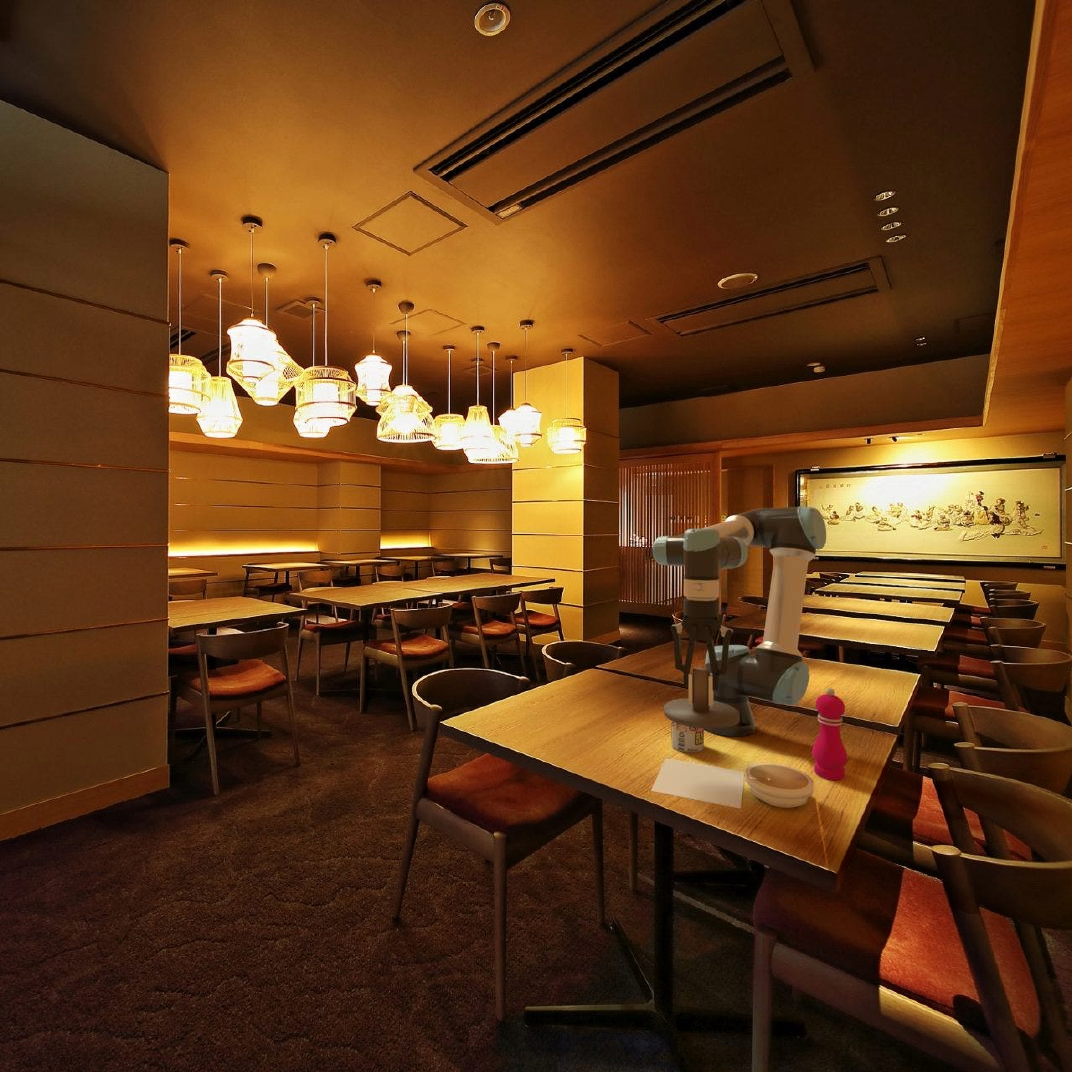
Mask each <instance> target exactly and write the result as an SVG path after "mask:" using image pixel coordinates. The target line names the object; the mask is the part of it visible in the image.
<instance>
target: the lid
mask: <svg viewBox="0 0 1072 1072" xmlns="http://www.w3.org/2000/svg"><path fill="white" fill-rule="evenodd" d="M692 672H693V703H692V704H689V697H688V698H687V697H686V698H678V699H672V700H673V701H672V700H669V701H667V702H666V703H665V704H664V706H663V714H664V717H666V718H667V719H668V720H669V721H673V722H676V723H678V724H681V725H685V726H689V727H695V728H703V729H704V730H705V729H721V728H728V727H731V726H734V725H736V724H737V723H738V722H739V712H738V711H737V710H736V709H735V708H734V707H732V706H730V705H727V704H724V703H721V702H717V701H713V706H709V675H710V670H709V669H706V667H694V668H692Z"/></svg>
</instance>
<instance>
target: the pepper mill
mask: <svg viewBox="0 0 1072 1072" xmlns="http://www.w3.org/2000/svg"><path fill="white" fill-rule="evenodd" d="M835 693H836V692H835V689H833V688H831V687H828V688H827V689H826V690H825V693H824V694H822V695H819V696H818V697H817V698H816V700H815V709H816V711H817V712H818V715H817V721H818V723H819V732H818V736H817V738H816V739H815V740H814V743H813V745H812V748H811V749H812V750H811V751H812V752H811V756H812V758H813V760H814V761H815V763H814V765H813V772H814V774H815V775H817V776H819V777H820V778H822V779H826V780H829V781H830V780H831V781H841V780H844V779H845V778H846V777H845V776H846V770H845V767H844V766H846V764H847V763H848V754H847V750H846V748H845V745H844V743H843V740H842V736H841V726H842V725H843V717H842V716H843V715H844V714H845V711H846V706H845V703H844V701H843V699H842V698H840V697H839V696H837V695H835Z"/></svg>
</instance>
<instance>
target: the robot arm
mask: <svg viewBox="0 0 1072 1072" xmlns="http://www.w3.org/2000/svg"><path fill="white" fill-rule="evenodd" d="M826 541H827V529H826V523H825V519H824V517H823V514H822V513H821V511H820V509H819V510H818V508H816V507H813V506H801V505H800V506H790V507H789V506H788V507H787V506H786V507H784V506H783V507H782V506H781V507H761V508H756V509H755V508H754V509H751V510H747V511H744V512H740V513H737V514H735V515H734V514H733V515H731V516H729V517H728V518H726V519H725V521H723V522H719V523H716V524H712V525H709V526H706V527H702V528H688V529H687V530H685V531H684V533H681V534H678V535H664V536H663V535H661V536H658V537H657V538H656V539H655V541H654V542H653V544H652V557H653V559H654V561H655V562H656V563H657V564H659V565H662V566H663V565H664V566H668V567H673V566H674V567H683V573H684V574H683V596H684V597H685V598H684V599H683V617H682V620H681V622H679V623H677V624H672V625H671V626H670V627H669V630H670V633H671V634H672V637H673V653H674V667H675V670H677V671H680V672H682V673H683V686H684V688H688V698H689V704H692V703H693V671H691V669H692V664H693V663H692V661H693V658H694V652H695V647H696V643H697V642H696V641H703V642H705V644H706V649H707V651H706V654H705V655H706V656H705V662H704V664H705V668H706V669H709V670H710V675H709V706H713V701H717V702H721V703H724V704H727V705H730V706H732V707H734V708H735V709H736V710H737V711H738V712H739V722H738V723H737V724H736V725H734V726H731V727H728V728H721V729H704V731H707V732H710V733H712V734H716V735H720V736H728V737H744V736H745V737H746V736H750V735H752V734H754V733H755V732H756V721H755V718H754V715H753V712H752V708H751V706H750V705H751V704H750V702H749V701H750V700H749V697H750V698H752V699H753V698H754V699H758V700H763V701H766V702H771V703H774V704H777V705H785V706H788V707H789V706H795V705H798V703H800V701H801V700H802V699H803V697H804V696H805V694H806V693H807V692H806V691H807V689H808V687H809V683H810V667H809V666H808V664H807V663H805V662H804V661H803V658H804V656H803V654H802V653H801V652H800V650H799V649H798V648H799V647H798V645H799V639H800V630H801V624H802V623H801V622H802V613H803V607H804V599H805V598H804V597H805V590H806V583H807V582H806V581H807V573H808V566H809V562H810V561H812V560H813V559H815V557H816V552H817V550H822V549H824V547H825V544H826V543H827V542H826ZM748 547H753V548H754V547H756V548H768V549H769V553H770V554H771V555H772V557H773V558H774V559H773V566H772V573H771V581H770V589H769V594H768V595H769V596H768V602H767V603H768V604H767V610H766V618H765V625H764V632H763V638H762V640H763V641H762V642H761V643H760V644H758V645H757V646H756V647H755V651H754V652H755V653H750V652H751V650H750V647H748V646H746V645H742V644H730V640H731V638H732V635H733V632H734V629H733V628H731V627H726V626H724V625H722V621H720V601H719V600H718V598H719V597H720V570H728V569H729V570H732V569H736V568H739V567H741V566H742V565H744V564H745V563H746V562H747V559H748V555H749V549H748ZM683 630H684V631H685V632H686V634H687V635H688V637H689V638H688V643H687V650H686V654H685V661H684V663H683V657H682V656H683V654H682V639H681V633H682V632H683ZM719 631H720V632H721V633H720V636H721V637H722V639H723V640H722V645H716V646H715V643H714V637H715V636H716V634H717V633H719Z"/></svg>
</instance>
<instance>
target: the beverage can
mask: <svg viewBox="0 0 1072 1072" xmlns="http://www.w3.org/2000/svg"><path fill="white" fill-rule="evenodd" d="M673 700H674V699H672V700H671V701H673ZM670 721H671V720H670ZM670 723H671V726H670V727H671V730H670V731H671V732H670V733H671V736H670V737H671V740H670V742H671V743H670V745H671V747H672V748H673V749H674V750H676V751H678V752H682V753H687V754H697V753H700V752H702V751H703V750H704V748H705V729H703V728H695V727H689V726H685V725H681V724H678V723H676V722H673V721H671V722H670Z"/></svg>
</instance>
